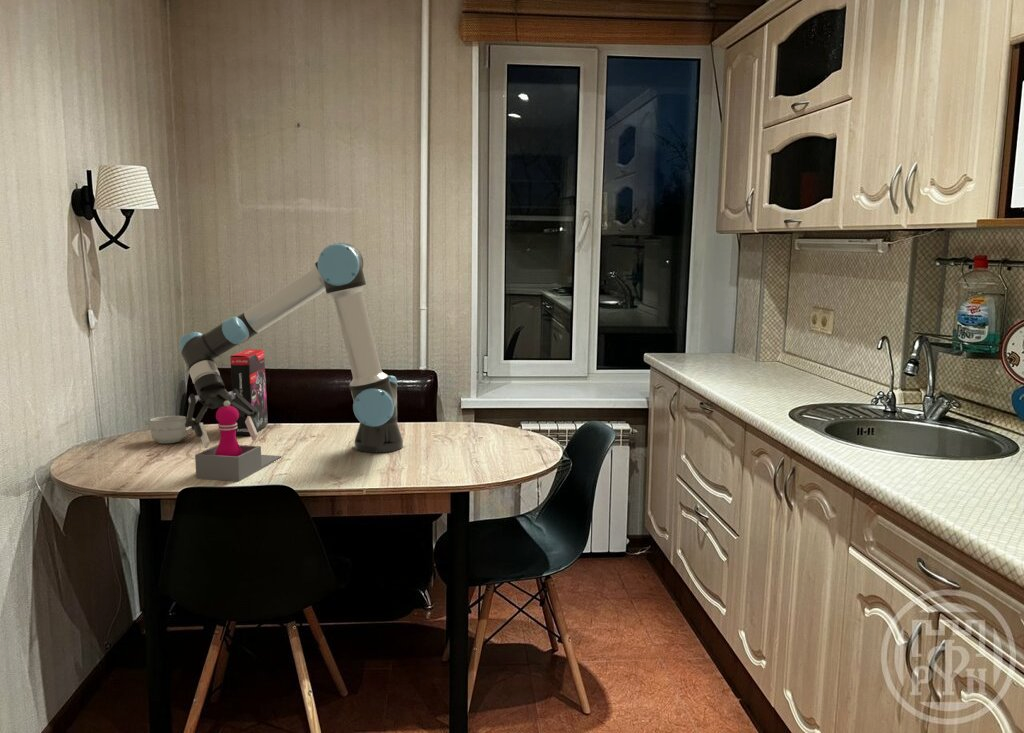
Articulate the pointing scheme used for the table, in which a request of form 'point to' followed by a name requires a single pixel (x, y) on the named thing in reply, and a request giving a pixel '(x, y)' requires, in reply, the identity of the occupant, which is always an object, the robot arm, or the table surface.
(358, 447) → the robot arm
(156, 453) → the table surface
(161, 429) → the teacup
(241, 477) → the box
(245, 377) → the graphics card box
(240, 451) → the pepper mill
